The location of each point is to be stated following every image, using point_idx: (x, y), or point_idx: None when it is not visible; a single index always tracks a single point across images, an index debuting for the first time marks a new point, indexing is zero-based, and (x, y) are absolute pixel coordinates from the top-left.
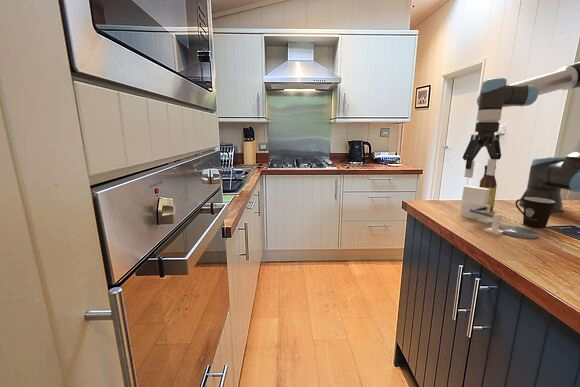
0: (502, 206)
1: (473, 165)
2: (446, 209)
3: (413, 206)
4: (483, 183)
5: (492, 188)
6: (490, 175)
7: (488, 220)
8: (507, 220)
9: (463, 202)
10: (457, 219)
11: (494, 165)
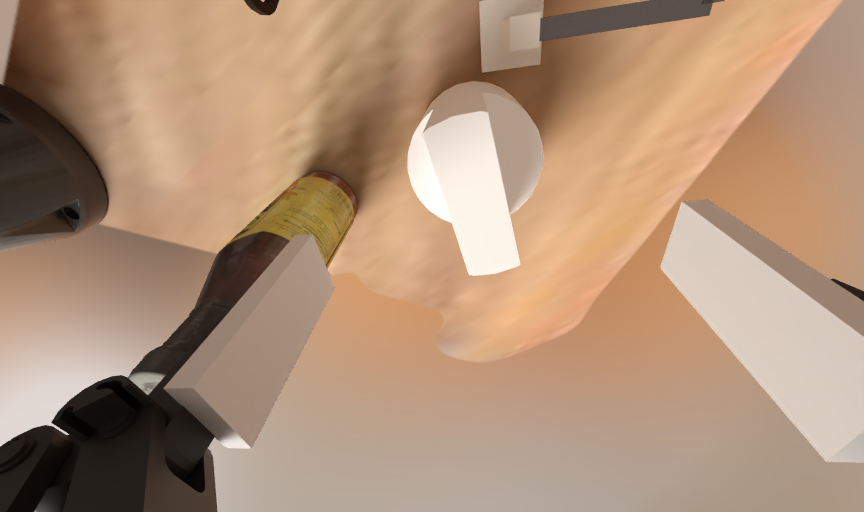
0: (202, 216)
1: (840, 303)
2: None
3: (581, 315)
4: None
5: (275, 230)
6: None
7: (510, 9)
8: (362, 12)
9: (534, 185)
10: (608, 114)
11: (253, 312)
